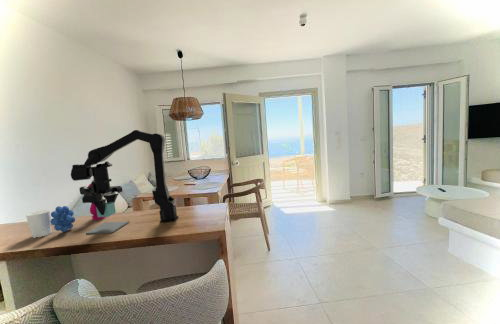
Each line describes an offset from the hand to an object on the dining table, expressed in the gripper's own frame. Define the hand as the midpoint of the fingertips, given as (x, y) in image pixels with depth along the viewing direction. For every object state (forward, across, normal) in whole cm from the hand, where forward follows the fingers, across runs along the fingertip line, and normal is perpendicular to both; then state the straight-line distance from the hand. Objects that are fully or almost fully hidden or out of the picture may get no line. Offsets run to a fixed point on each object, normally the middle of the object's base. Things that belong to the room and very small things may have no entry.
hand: (106, 212), depth 109 cm
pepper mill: (+7, -15, -15) cm, 22 cm away
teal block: (+1, 0, 0) cm, 1 cm away
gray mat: (+7, 0, 0) cm, 7 cm away
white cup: (+7, +4, -28) cm, 29 cm away
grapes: (+7, +2, -18) cm, 20 cm away
